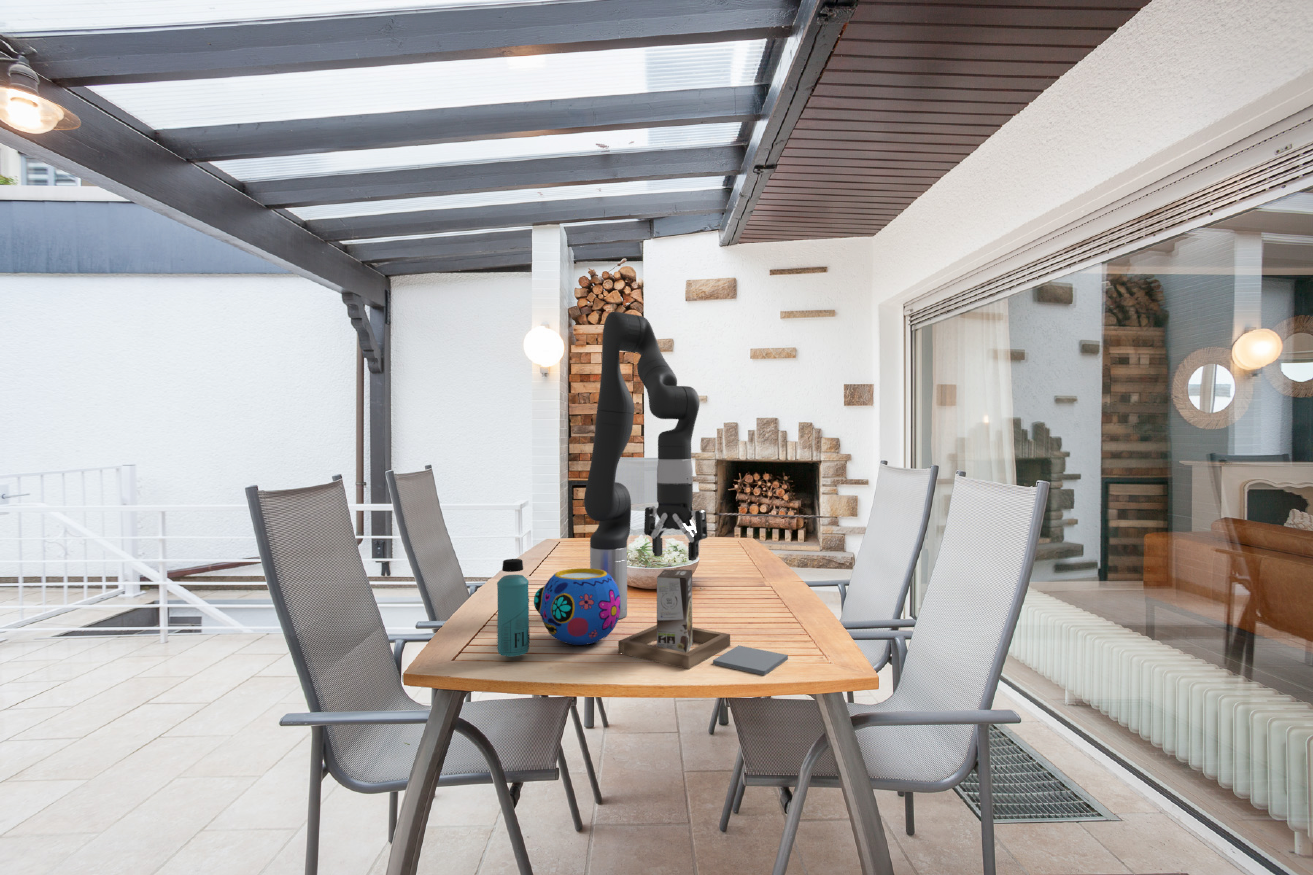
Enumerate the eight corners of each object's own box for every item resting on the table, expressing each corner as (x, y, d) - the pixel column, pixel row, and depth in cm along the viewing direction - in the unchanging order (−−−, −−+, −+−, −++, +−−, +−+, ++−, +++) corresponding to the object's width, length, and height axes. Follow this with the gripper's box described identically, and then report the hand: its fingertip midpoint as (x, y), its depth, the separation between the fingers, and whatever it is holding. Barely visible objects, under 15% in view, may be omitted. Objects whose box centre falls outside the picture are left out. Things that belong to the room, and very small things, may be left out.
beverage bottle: (513, 666, 127) (513, 563, 127) (489, 660, 130) (489, 560, 130) (536, 657, 132) (536, 558, 132) (512, 651, 136) (512, 555, 136)
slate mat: (712, 664, 128) (712, 659, 128) (738, 649, 137) (738, 645, 137) (764, 675, 122) (764, 671, 122) (787, 658, 131) (787, 654, 131)
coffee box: (687, 657, 132) (686, 577, 132) (655, 655, 133) (655, 576, 133) (693, 643, 141) (693, 568, 141) (664, 642, 142) (664, 567, 142)
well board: (618, 653, 135) (618, 640, 135) (663, 632, 149) (663, 621, 149) (688, 669, 125) (688, 656, 125) (730, 645, 139) (730, 634, 139)
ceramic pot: (525, 639, 144) (525, 571, 144) (594, 625, 155) (593, 562, 155) (564, 660, 130) (564, 585, 130) (637, 643, 141) (636, 574, 141)
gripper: (636, 480, 138) (637, 557, 138) (694, 482, 130) (695, 564, 130) (656, 478, 144) (657, 552, 144) (713, 480, 136) (713, 558, 136)
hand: (675, 557), depth 137 cm, fingers open, 8 cm apart
